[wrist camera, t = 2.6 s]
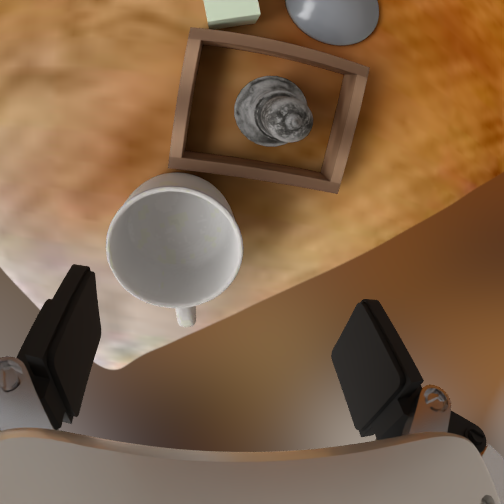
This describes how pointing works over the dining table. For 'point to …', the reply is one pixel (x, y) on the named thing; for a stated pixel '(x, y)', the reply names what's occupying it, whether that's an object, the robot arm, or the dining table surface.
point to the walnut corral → (261, 170)
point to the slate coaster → (335, 19)
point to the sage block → (231, 13)
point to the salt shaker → (272, 112)
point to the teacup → (175, 244)
